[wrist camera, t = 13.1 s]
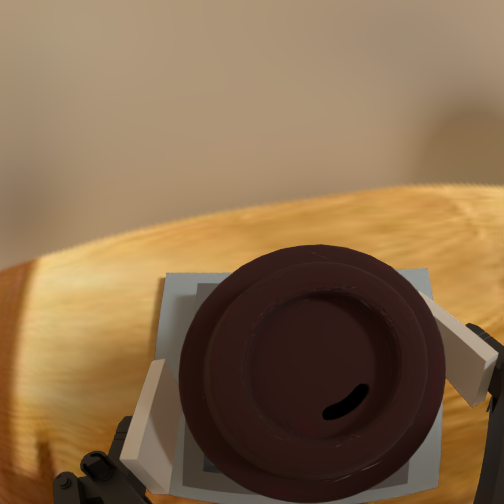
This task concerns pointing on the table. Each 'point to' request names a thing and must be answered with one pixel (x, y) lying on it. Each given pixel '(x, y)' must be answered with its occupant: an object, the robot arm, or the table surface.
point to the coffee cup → (312, 374)
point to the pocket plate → (201, 468)
